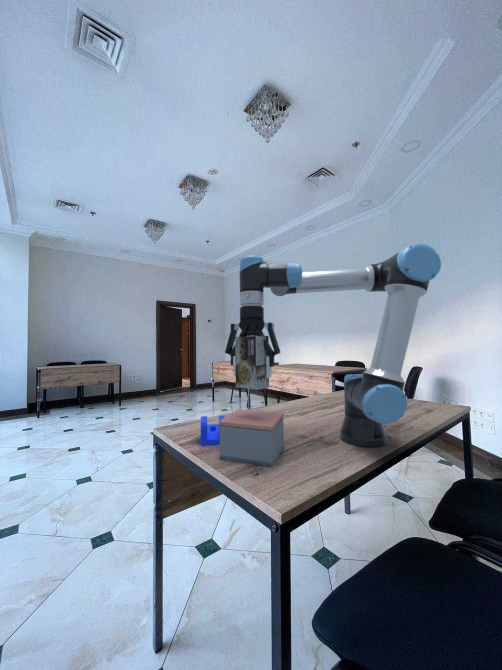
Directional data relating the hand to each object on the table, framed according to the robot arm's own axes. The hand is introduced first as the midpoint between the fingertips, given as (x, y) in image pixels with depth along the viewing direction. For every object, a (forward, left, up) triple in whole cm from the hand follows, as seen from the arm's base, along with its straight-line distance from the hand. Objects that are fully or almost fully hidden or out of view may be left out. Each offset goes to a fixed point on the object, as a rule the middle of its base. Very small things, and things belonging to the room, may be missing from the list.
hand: (252, 376), depth 87 cm
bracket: (+19, -10, -24) cm, 33 cm away
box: (0, 0, -24) cm, 24 cm away
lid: (0, 0, -14) cm, 14 cm away
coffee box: (0, 0, -4) cm, 4 cm away
